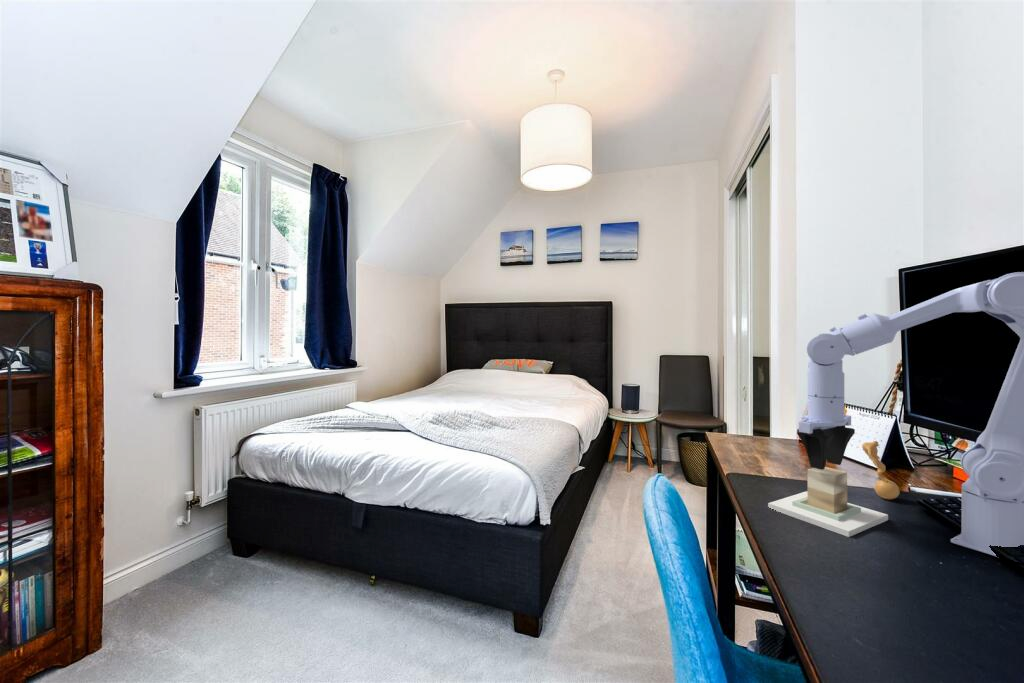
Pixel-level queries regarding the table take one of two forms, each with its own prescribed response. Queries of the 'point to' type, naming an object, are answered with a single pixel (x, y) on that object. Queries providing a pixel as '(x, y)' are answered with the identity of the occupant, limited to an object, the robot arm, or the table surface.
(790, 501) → the collar board
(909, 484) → the table surface
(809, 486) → the block stack
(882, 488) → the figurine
